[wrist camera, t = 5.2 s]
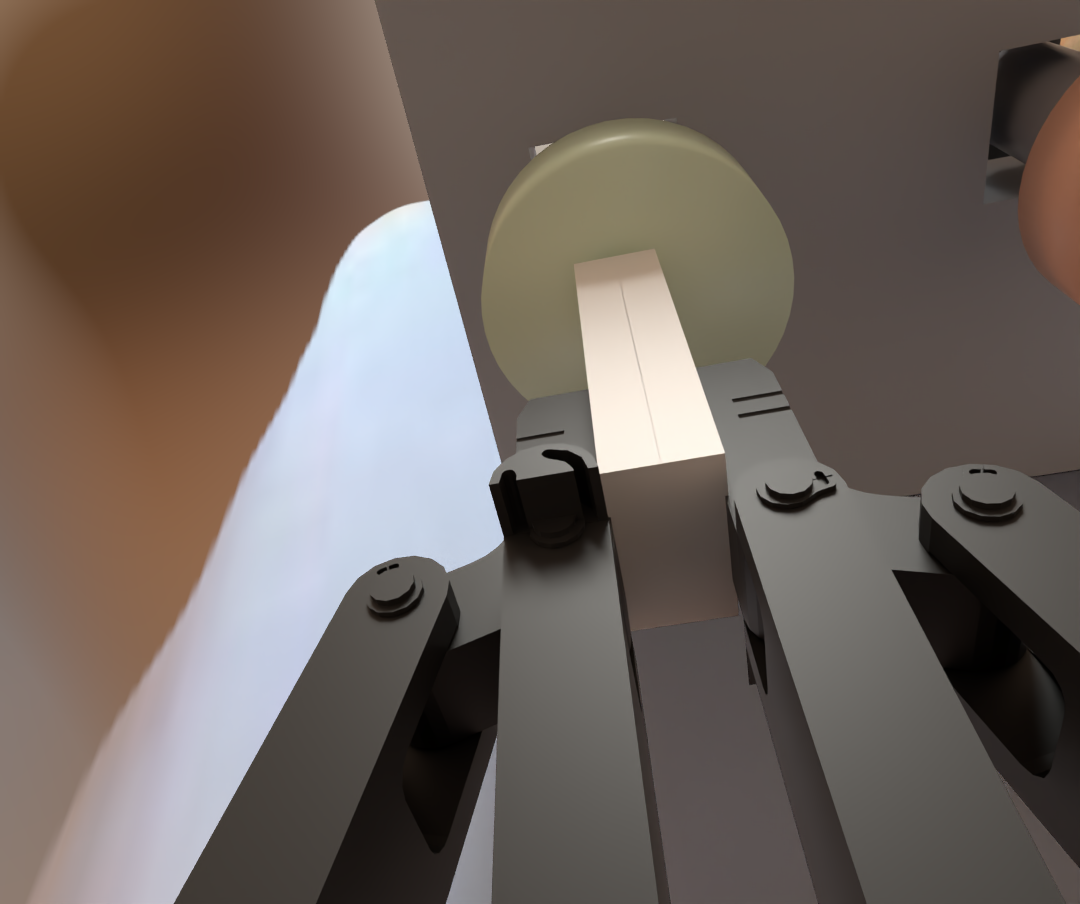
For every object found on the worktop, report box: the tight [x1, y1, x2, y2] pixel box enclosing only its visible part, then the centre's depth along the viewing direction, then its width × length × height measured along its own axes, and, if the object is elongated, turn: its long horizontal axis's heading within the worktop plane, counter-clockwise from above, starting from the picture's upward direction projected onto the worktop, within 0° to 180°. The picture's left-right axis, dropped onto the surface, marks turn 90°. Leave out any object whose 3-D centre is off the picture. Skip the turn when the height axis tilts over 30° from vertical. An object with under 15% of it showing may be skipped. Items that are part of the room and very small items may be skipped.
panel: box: [375, 0, 1080, 496], centre depth 22 cm, size 3×20×20 cm, turn 90°
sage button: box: [481, 118, 794, 401], centre depth 19 cm, size 8×6×6 cm
